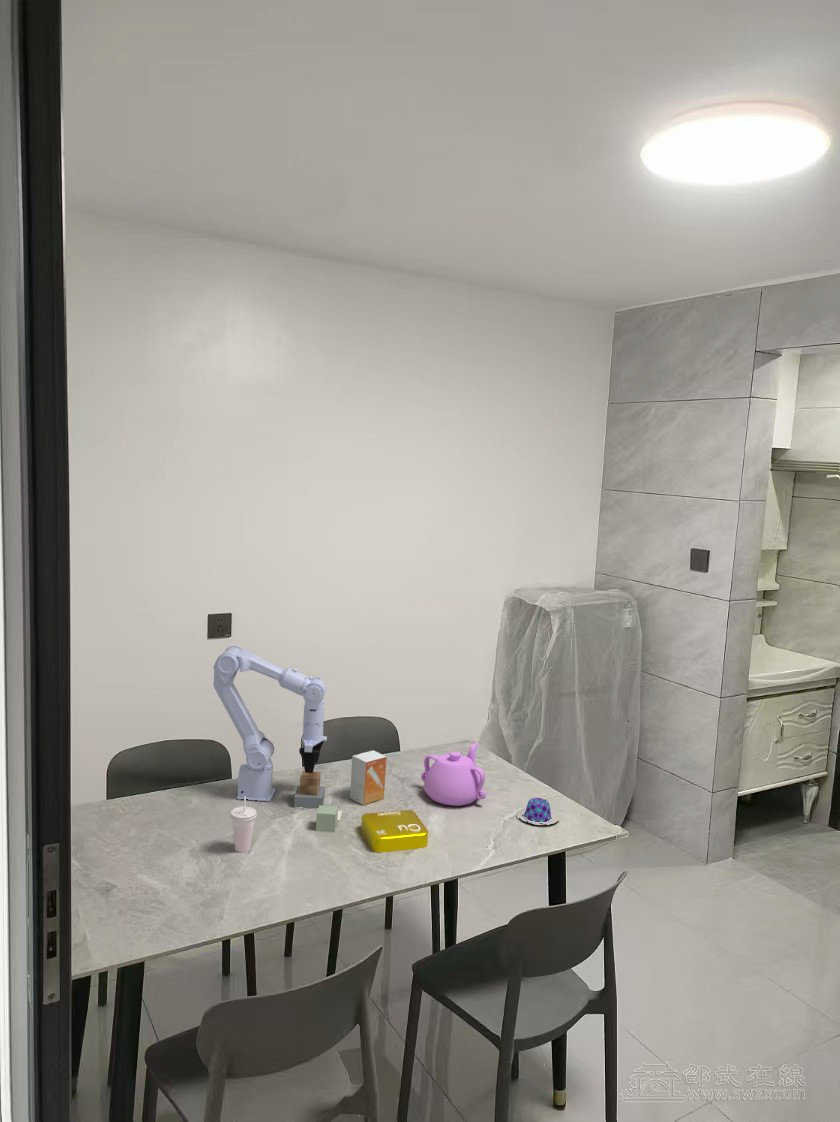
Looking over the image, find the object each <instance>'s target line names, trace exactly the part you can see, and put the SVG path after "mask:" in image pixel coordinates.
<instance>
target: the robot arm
mask: <svg viewBox="0 0 840 1122" xmlns="http://www.w3.org/2000/svg"><path fill="white" fill-rule="evenodd" d="M238 671H239V673H243V672H248V671H254V672H256V673H259V674H261V675H263V676H265V677H268V678H271V679H272V680H273V679H274V680H276V681H278V682H277V683H278V684H279V686H280V687H281V688H284V689H285V690H288V691H290V692H292V693H294V694H296V695H298V696H302V697H303V699H304V706H303V721H302V736H301V741H302V743H303V744H304V747H299V750H298V752H299V755H300V757H301V759H302V764H303V768H304V771H305V773H313V772H314V770H315V766H316V764H318V762H319V758H320V754H321V749H322V747H323V744H324V742H326V741H327V740H328V736H324V723H325V722H324V721H325V719H324V718H325V697H324V696H325V694H326V691H327V686H326V683H325V682H324V681H323V680H322V679H321V678H319V677H313V676H311V675H309V676H308V675H306V674H304V673H301V672H299V671H298V668H296V667H293V668H291V667H288V668H285V669H283V668H281V667H279V666H277V665H275V664H273V663H271V662H270V661H267V660H265V659H264V658H262V657H260V656H258V655H256V654H255V653H253V652H251V651H250V650H248V649H245V648H242V647H240V646H238V645H231V646H229V647H227V648H226V649H225V650H224V651H223V652H222V653H221V654H219V656H218V657H217V658H216V660H215V663H214V664H213V688H214V690H215V691H216V694H217V695H218V697H219V700H220V702H221V703H222V705H223V707H224V709H225V711H226V712H227V714H228V715H229V716H228V717H230V719H231V722H232V724H233V725H234V727H235V728H236V731H237V732H238V734H239V736H240V738H241V740H242V746H243V747H242V748H243V751H244V753H245V757H246V759H245V760H246V764H244V763H243V764H240V766H239V770H238V777H237V779H238V781H237V797H236V799H237V798H238V799H237V800H241V799H244V796H246V799H248V800H247V801H255V800H257V802H258V801H259V802H271V800H272V798H273V796H274V794H275V792H276V788H273V770H274V768H273V767H274V766H273V765H274V763H273V761H272V759H271V757H272V756H273V754H274V753H275V745H274V743H273V742H272V740H270V739H268V738H267V737H266V735H265V733H264V732H262V731H261V730H260V729H259V728H258V726H257V724H256V723H255V721H254V718H253V717H252V715H251V713H250V711H249V710H248V708H247V705H246V704H245V703H244V700H243V698H242V696H241V694H240V693H239V690H238V689H237V687H236V685H235V684H234V682H235V678H236V676H237V674H238V673H237V672H238Z"/></svg>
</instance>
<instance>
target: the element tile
mask: <svg viewBox="0 0 840 1122" xmlns="http://www.w3.org/2000/svg"><path fill="white" fill-rule="evenodd" d="M360 831H361V833H362V834H363V837H364V839H365V840H366V842H367V844H368V846H369V848H370V849H371V851H373V852H375V853H379V854H380V853H389V852H399V851H409V849H410V850H411V849H412V850H419V849H418V848H422V849H425V847H426V848H427V847H428V844H429V843H428V842H429V830H428V829H427V827H426V826H425V824H424V823H423V821H422V820H421V819H420V817H419V816H418V815H417V813H416V812H415V811H414V810H412V809H404V810H393V811H392V810H391V811H381V812H380V811H379V812H370V813H369V812H367V813H364V814H362V815H361V822H360Z"/></svg>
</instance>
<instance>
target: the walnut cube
mask: <svg viewBox="0 0 840 1122" xmlns="http://www.w3.org/2000/svg"><path fill="white" fill-rule="evenodd" d="M299 786H300V790H299V794H300V795H313V796H317V794H318V792H319V789H320V786H321V771H313V773H305V770H302V772H301V774H300V778H299Z"/></svg>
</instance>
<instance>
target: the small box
mask: <svg viewBox="0 0 840 1122" xmlns="http://www.w3.org/2000/svg"><path fill="white" fill-rule="evenodd" d="M386 769H387V756H386V755H384V754H381V752H378V751H376V750H374V749H373V750H369V751H366V752H361V753H359V754H353V755H352V756H351V774H350V788H349V789H350V792H349V798H350V799H351V800H353V801H355V802H356V803H358V804H360V805H362V806H365V805H368V804H370V803H374V802H377V801H381V800H384V799H385V786H386V785H385V784H386V773H387V772H386Z"/></svg>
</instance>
